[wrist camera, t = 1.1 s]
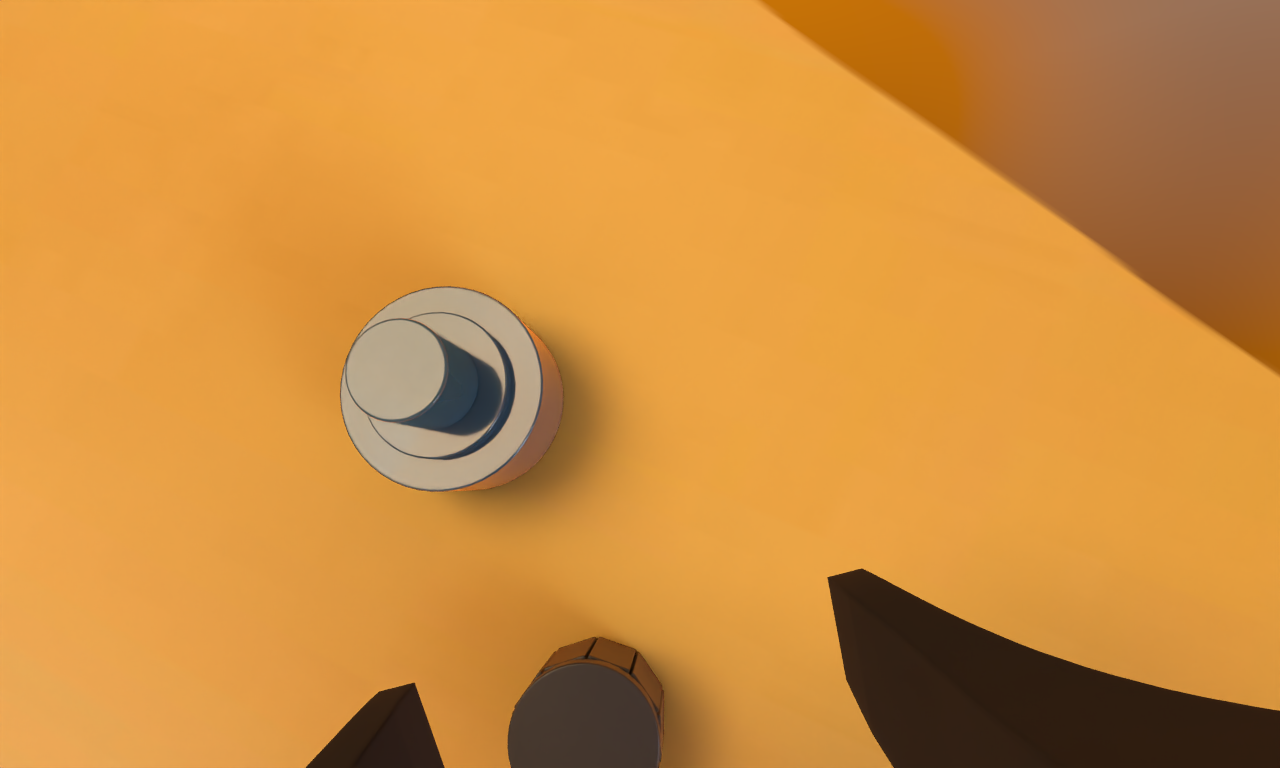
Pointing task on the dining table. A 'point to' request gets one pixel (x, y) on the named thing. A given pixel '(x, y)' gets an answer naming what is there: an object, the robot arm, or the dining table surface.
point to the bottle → (450, 392)
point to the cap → (589, 711)
